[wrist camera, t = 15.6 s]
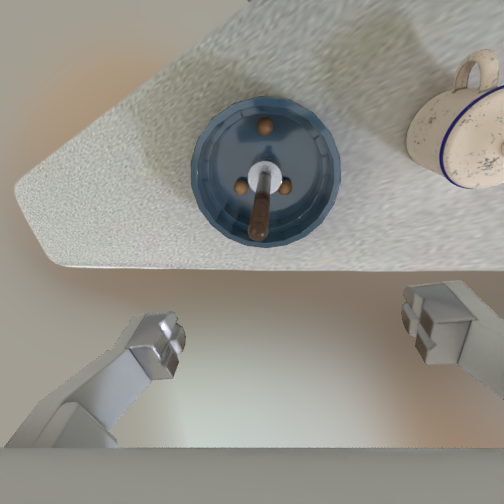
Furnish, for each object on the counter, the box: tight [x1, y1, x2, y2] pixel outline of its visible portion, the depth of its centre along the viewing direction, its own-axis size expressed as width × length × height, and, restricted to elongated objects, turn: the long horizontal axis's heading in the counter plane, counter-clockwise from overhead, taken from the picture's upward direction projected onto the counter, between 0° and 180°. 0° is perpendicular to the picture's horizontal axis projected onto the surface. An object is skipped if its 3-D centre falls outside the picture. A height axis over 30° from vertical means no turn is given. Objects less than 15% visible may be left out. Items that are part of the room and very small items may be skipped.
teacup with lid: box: [406, 49, 504, 189], centre depth 25 cm, size 12×9×12 cm
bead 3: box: [278, 180, 292, 195], centre depth 34 cm, size 2×2×2 cm
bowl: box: [191, 96, 341, 248], centre depth 32 cm, size 18×18×6 cm
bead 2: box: [257, 118, 273, 136], centre depth 31 cm, size 2×2×2 cm
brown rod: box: [248, 156, 282, 241], centre depth 27 cm, size 4×4×18 cm
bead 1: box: [234, 181, 248, 195], centre depth 35 cm, size 2×2×2 cm
